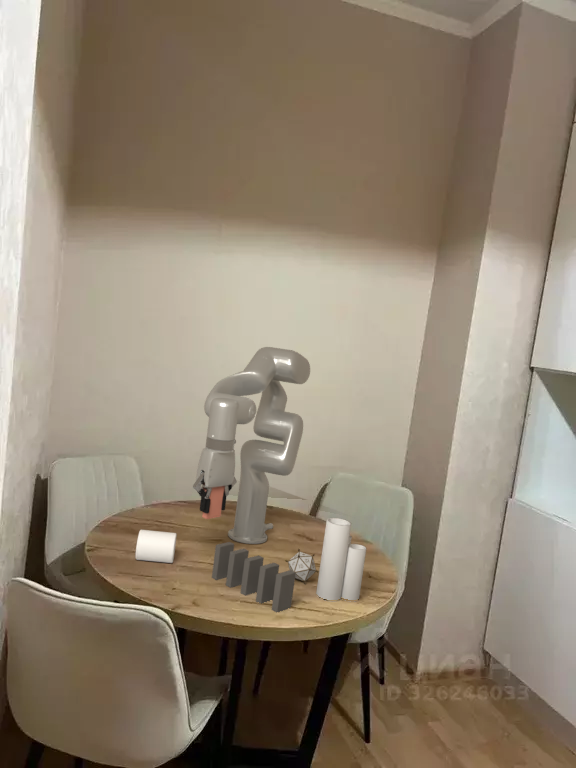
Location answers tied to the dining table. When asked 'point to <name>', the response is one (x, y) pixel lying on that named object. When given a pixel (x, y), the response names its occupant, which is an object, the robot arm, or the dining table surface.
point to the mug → (155, 546)
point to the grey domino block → (283, 591)
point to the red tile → (215, 503)
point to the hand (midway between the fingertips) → (212, 509)
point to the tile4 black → (251, 575)
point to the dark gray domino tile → (236, 567)
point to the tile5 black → (266, 582)
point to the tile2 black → (221, 560)
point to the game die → (302, 565)
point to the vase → (340, 563)
